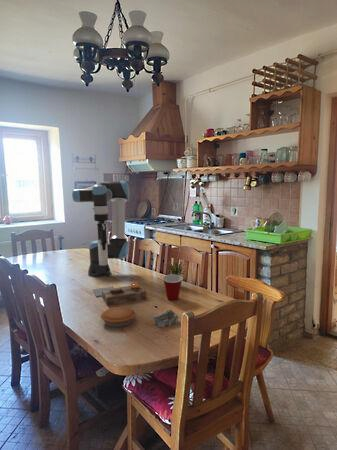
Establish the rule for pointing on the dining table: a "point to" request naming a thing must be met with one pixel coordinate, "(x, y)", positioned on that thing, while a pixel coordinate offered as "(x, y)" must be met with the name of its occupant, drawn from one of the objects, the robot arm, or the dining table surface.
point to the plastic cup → (172, 286)
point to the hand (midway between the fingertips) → (103, 254)
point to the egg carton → (163, 321)
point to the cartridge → (102, 259)
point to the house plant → (176, 268)
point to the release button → (135, 286)
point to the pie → (118, 316)
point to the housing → (123, 295)
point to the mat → (100, 291)
